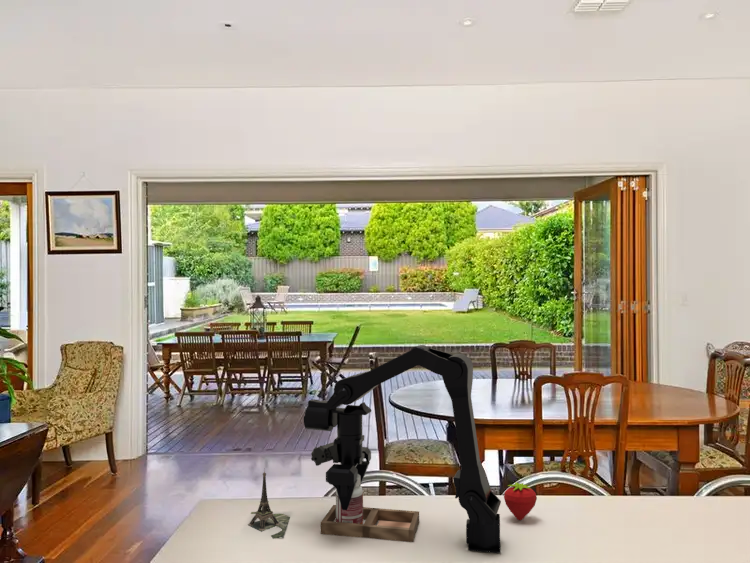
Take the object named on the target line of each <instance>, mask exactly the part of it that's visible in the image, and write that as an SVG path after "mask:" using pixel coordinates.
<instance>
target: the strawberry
mask: <svg viewBox="0 0 750 563" xmlns="http://www.w3.org/2000/svg"><path fill="white" fill-rule="evenodd" d="M519 481H520V479H518V480H517V482H516V481H515V482H514V484H508V485H507V487H508V488H507V489H506V490H505V491H504V495H503V499H504V502H505V505H506V507H507V508H508V510H509V511H510V513H511V514H512V515H513V516H514V517H515V518H516V519H517V520H518V521H522V520H524V519H525V518H526V517H527V516H528V514H530V512H531V511H532V510H533V508H535V505H536V502H537V500H538V498H537V493H536V492H535V491H534V490H533V489H532V487H530V484H524V483H519Z"/></svg>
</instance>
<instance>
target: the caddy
mask: <svg viewBox="0 0 750 563" xmlns="http://www.w3.org/2000/svg"><path fill="white" fill-rule="evenodd" d="M419 525H420V511H418V510H403V509H391V508H390V509H389V508H378V507H367V506H365V507H364V506H363V524H356V523H344V522H336V504H333V505H332V506H331V507H330V509H329V510H328V511H327V513H326V515H325V516H324V517H323V519H321V521H320V535H326V536H327V535H330V536H337V537H338V536H339V537H351V538H361V539H372V540H373V539H374V540H383V541H398V542H407V543H408V542H409V543H414V542H415V537H416V534H417V531H418V528H419Z"/></svg>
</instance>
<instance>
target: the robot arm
mask: <svg viewBox="0 0 750 563" xmlns="http://www.w3.org/2000/svg"><path fill="white" fill-rule="evenodd" d="M416 366H417V367H418V366H419V367H421V368H424V369H427V370H428V371H430V372H432V373H434V374H437V375H439V376H441V377H442V380H443V384H444V387H445V389H446V392H447V394H448V395H449V398H450V399H451V404H452V405H451V406H452V411H453V412H452V413H453V421H454V426H455V434H456V441H457V448H458V455H459V462H460V469H458V470H457V471H456V473H455V474H454V476H453V480H452V481H453V485H454V487H455V496H454V498H455V499H458V502H459V505H460V506H461V507H462V508H463V509H464V510H465V511H466V513H467V517H468V518H467V519H466V525H465V526H466V529H465V531H466V532H465V538H466V539H465V540H466V541H465V544H467V545H468V546H467V549H468V551H470V552H471V551H472V552H482V553H494V554H501V552H502V548H501V547H502V545H501V516H500V515H501V514H500V513H498V512H499V509H500V506H501V504H502V503H501V502H502V501H501V499H499V497H497V495H496V494H495V493H494V492H493V491H492V490H491V486H490V482H489V479H488V476H487V473H486V471H485V469H484V466H483V464H482V461H481V459H480V458H481V457H480V450H479V445H478V436H477V430H476V422H475V416H474V408H473V403H472V402H473V401H472V389H473V383H474V382H473V381H474V380H473V379H474V378H473V377H474V362H473V361H472V359H471V358H470V357H468V356H467V355H466V354H463V353H455V354H452V353H449V352H446V351H442V350H440V349H439V350H438V349H435V348H431V347H428V346H426V345H425V344H420V345H417V346H414V347H413V348H411V349H410V350H408V351H406V352H405V353H403V354H400V355H399V356H396V357H395V358H392V359H391V360H388V361H387V362H384V363H382V364H381V365H378V366H376V367H375V368H373V369H371V370H368V371H364V372H360V373H355V374H353V375H352V374H351V375H350V376H348V377H345V378H342V379H339V380H338V381H336V383H335V384H334V388H333V393H332V395H331V396H330V397H329V399H328V400H320V399H310V400H308V402H307V407H306V408H305V410H304V411H305V412H304V415H303V425H304V427H305V429H306V430H308V431H309V430H312V431H323V432H332V431H333V429H334V428H336V429H337V430H336V438H334V440H333V441H332V442H329V443H326V444H324V445H319V446H315V447H314V448H313V451H311V453H310V454H311V459H310V460H311V461H312V462H314V464H315V466H316V467H319V466H321V465H322V464H324V463H327V462H330V461H332V463H333V464H332V466H330V467H329V469H327V470H326V472H325V482H326V483H328V484H329V485H331V486H333V487H334V488H335V491H336V490H337V493H338V496H339V500H340V504H341V507H342V510H347V509H348V506H349V503H350V501H351V498H352V495H353V492H354V489H355V486H356V483H357V475H358V474H359V475H360V478H361V484H360V485H359V486H361V485H362V482H363V481H364V479H365V475H366V473H367V470H368V469H369V465H370V461H371V459H372V451H371V449H370V448H369V447H368V446H367V447H366V446H363V442H364V441H365V435H364V434H363V416H367V415H369V414H370V413H372V409H371V408H370V407H369V406H368V405H367V404H366V403H365V402H361V403H360V404H359V405H358V404H357V405H355V404H353V403H355V402H357V401H359V400H361V399H362V398H363V397H365V396H366V395H367V394H369V393H370V392H372V391H373V390H374V389H375V388H377V387H378V386H379V385H380V384H382V383H384V382H386V381H388V380H390V379H392V378H395V377H396V376H399V375H401V374H403V373H404V372H407V371H409V370H411V369H414V368H415V367H416ZM342 405H344V406H345V407H344V408H343V407H341V406H342ZM361 487H362V486H361Z"/></svg>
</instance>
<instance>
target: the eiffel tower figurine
mask: <svg viewBox="0 0 750 563" xmlns="http://www.w3.org/2000/svg"><path fill="white" fill-rule="evenodd" d="M265 470H266V469H265V468H264V470H263V471H264V472H262V485H261V487H262V489H261V490H262V491H261V498H260V501H259V505H258V509H257V510H256V511H251V512H250V515H253V517H252V519H251V520H250V521H249V523H248V524H247V526H249V527H250V528H253V529H255V530H256V531H259V532H261V533H262V532H265V531H267V530H270V529H272V528H275V527H277V528H279V529H281V530H280V531H278V532H276V533H274V534H271V535H270V537H271V538H272V539H273V540H274V539H275V540H276V539H284V538H285V535H286V532H287V528H288V525H289V522H290V519H291V516H289V515H287V514H284V513H274V512H273V510H271V507H270V504H269V500H268V493H267V492H268V491H267V482H266V481H267V478H266V476H267V473H266V471H265ZM257 519H258V520H257Z"/></svg>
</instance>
